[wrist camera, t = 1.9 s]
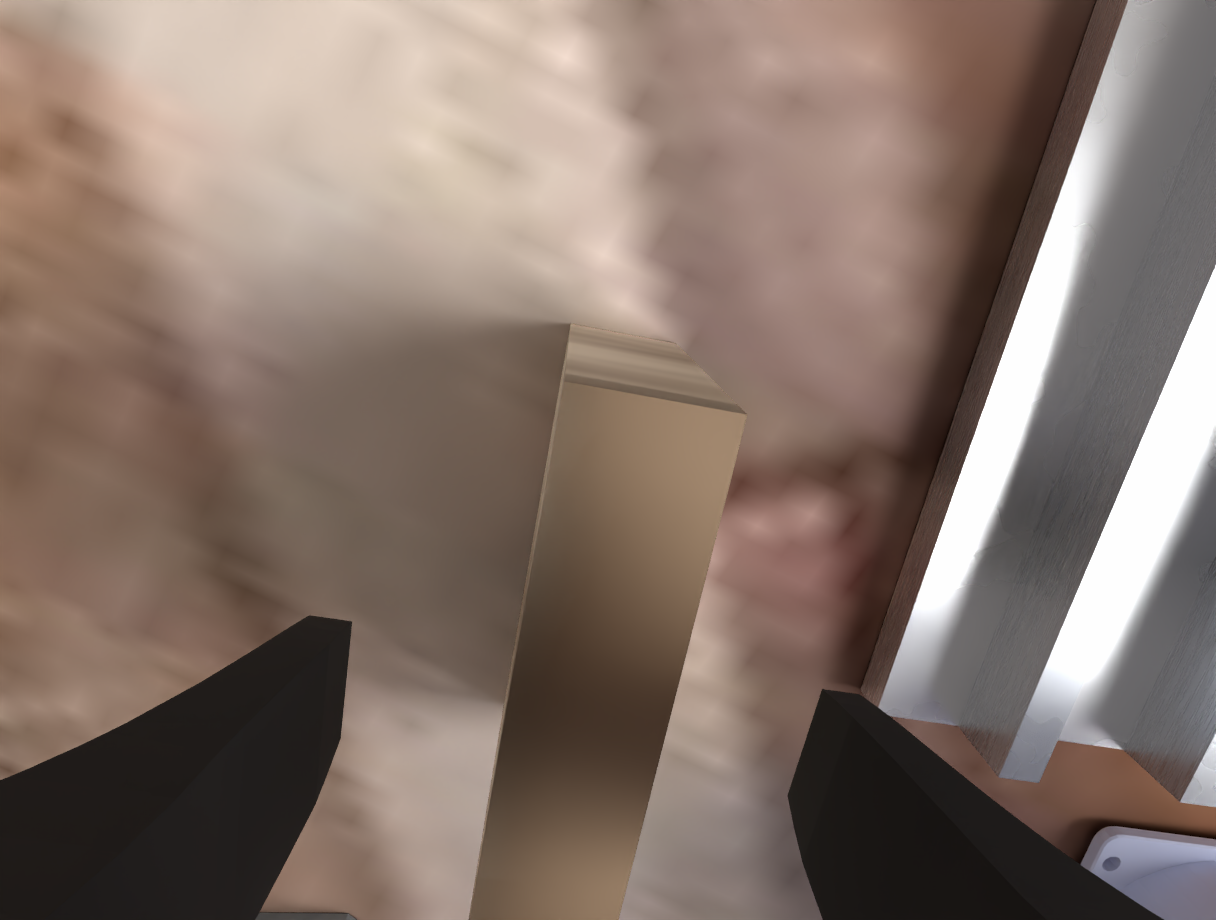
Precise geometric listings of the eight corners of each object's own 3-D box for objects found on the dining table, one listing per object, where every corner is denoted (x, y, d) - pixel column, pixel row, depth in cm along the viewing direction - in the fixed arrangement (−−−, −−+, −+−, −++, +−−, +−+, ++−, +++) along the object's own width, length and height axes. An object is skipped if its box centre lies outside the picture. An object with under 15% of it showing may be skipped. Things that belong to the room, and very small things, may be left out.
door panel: (594, 715, 19) (602, 981, 12) (504, 703, 18) (461, 966, 12) (675, 343, 16) (747, 415, 9) (570, 323, 16) (564, 381, 9)
